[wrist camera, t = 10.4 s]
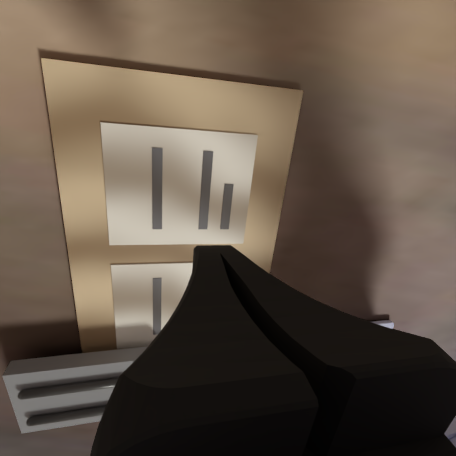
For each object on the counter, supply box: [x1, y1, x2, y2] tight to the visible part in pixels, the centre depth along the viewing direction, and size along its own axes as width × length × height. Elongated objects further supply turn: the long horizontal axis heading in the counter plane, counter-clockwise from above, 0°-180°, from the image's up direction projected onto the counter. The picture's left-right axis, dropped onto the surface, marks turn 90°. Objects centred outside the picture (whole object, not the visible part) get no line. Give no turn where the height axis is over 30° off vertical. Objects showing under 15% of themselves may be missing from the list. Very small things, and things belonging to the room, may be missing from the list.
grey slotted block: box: [3, 346, 148, 433], centre depth 22 cm, size 12×6×2 cm, turn 85°
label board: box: [41, 58, 303, 353], centre depth 21 cm, size 23×14×1 cm, turn 174°
